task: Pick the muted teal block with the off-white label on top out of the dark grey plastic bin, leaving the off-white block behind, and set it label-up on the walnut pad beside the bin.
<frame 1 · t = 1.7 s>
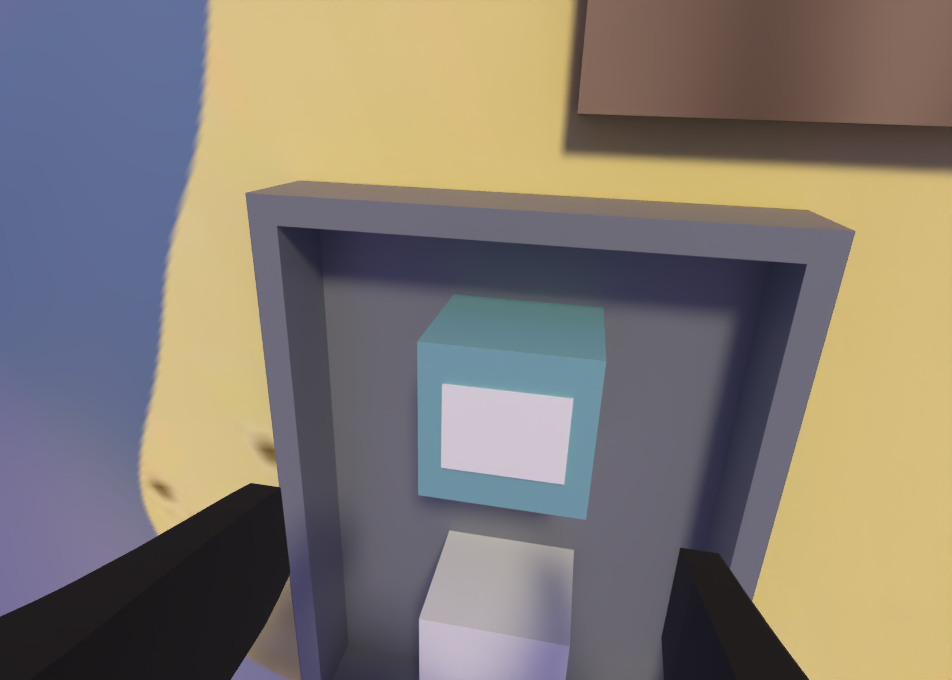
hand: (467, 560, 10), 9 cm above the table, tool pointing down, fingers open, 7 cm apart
labelled block: (522, 368, 18), resting on bin
bin: (515, 479, 20), on the table
plain block: (507, 588, 21), resting on bin
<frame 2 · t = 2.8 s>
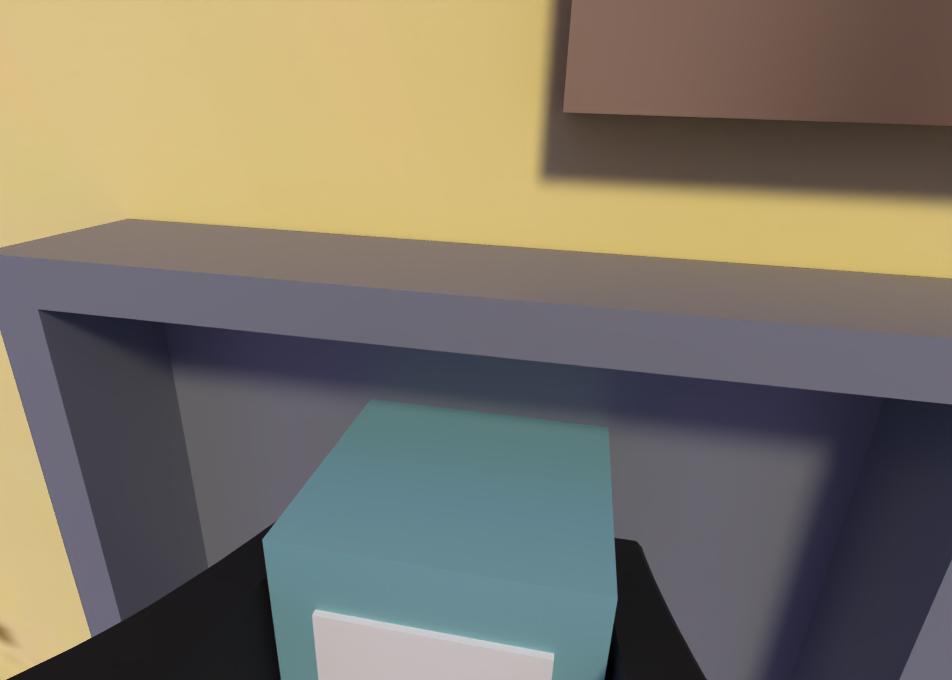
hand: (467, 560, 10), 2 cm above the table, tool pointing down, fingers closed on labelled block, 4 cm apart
labelled block: (481, 510, 12), resting on bin, touching gripper
bin: (478, 651, 14), on the table
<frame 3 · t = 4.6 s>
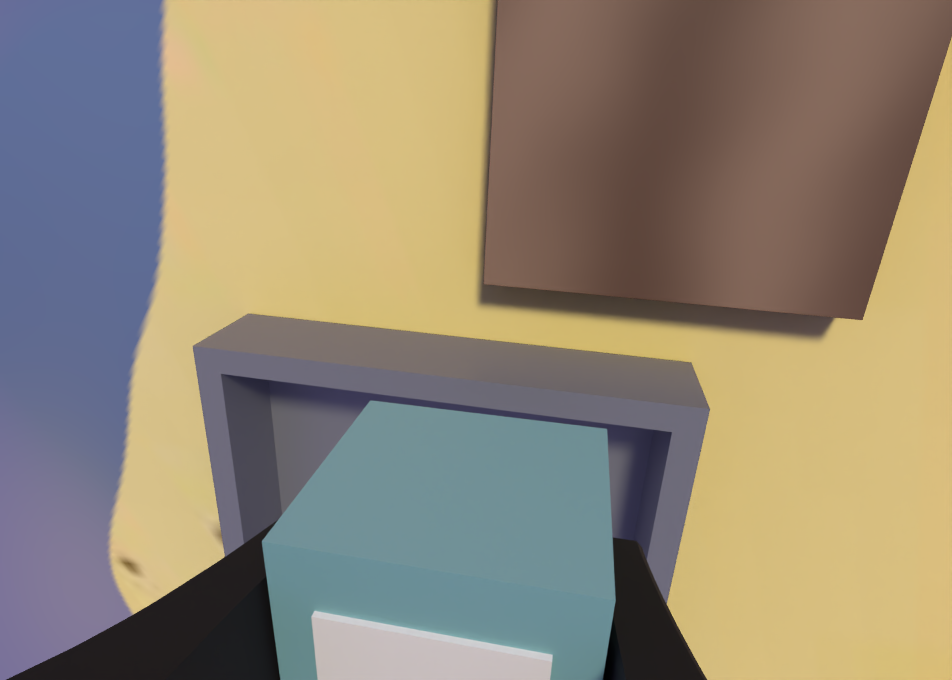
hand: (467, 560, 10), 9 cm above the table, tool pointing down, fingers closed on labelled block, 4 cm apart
labelled block: (480, 512, 12), point 7 cm above the table, touching gripper
pad: (690, 104, 15), on the table
bin: (448, 571, 22), on the table
when the fingers open (4 cm above the table, at t = 6.5 s): labelled block drops 1 cm, resting on pad.
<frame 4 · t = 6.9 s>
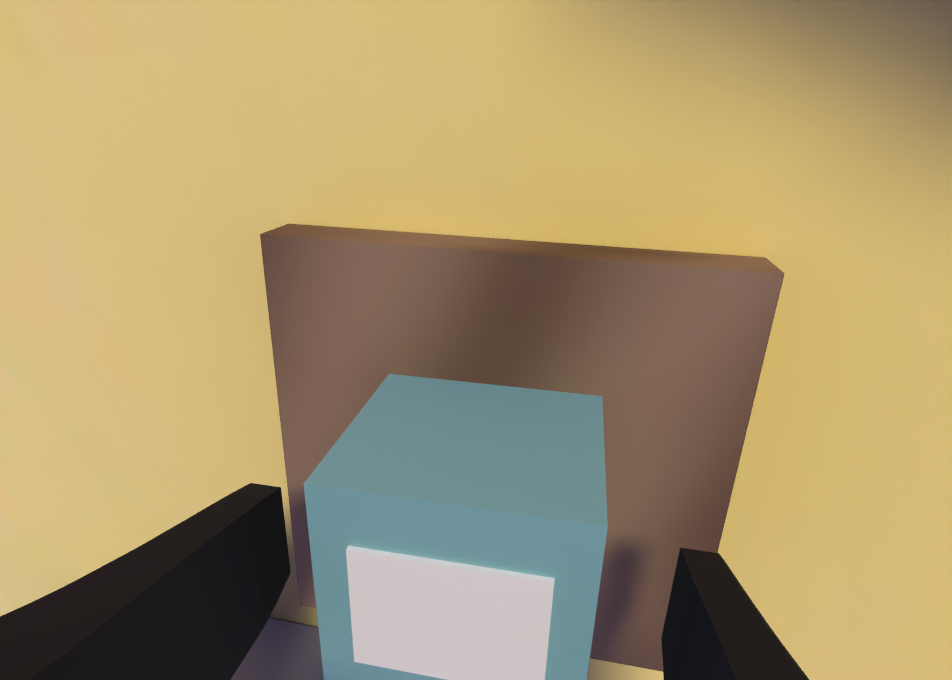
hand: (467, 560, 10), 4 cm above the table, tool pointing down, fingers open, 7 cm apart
labelled block: (488, 475, 13), point 1 cm above the table, touching pad
pad: (499, 445, 14), on the table
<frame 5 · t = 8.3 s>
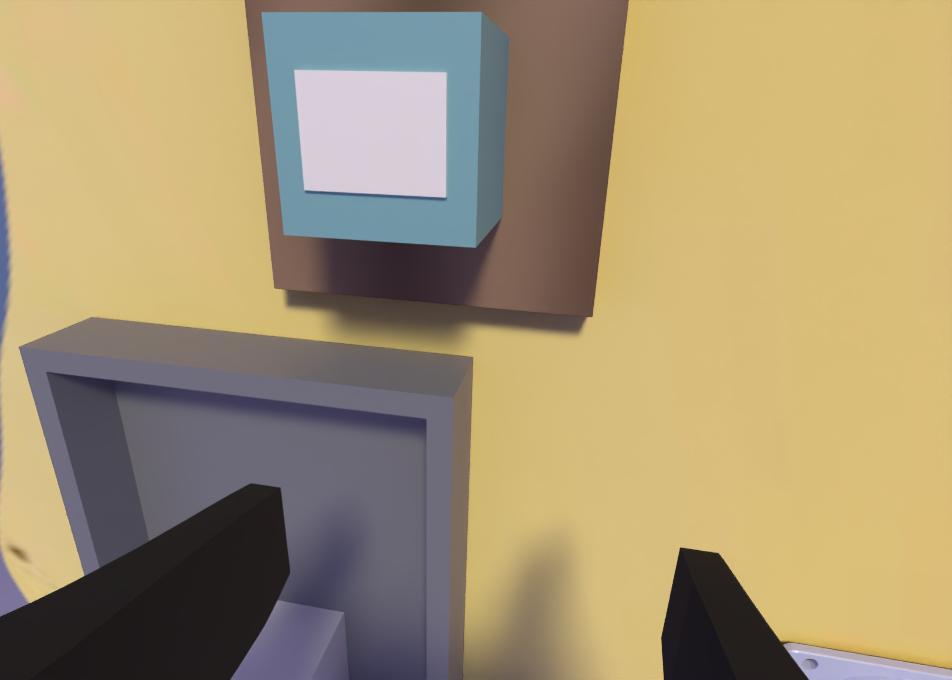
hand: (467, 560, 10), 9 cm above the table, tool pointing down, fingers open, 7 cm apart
labelled block: (423, 129, 16), point 1 cm above the table, touching pad
pad: (436, 126, 17), on the table
bin: (295, 553, 24), on the table
plain block: (298, 641, 25), resting on bin
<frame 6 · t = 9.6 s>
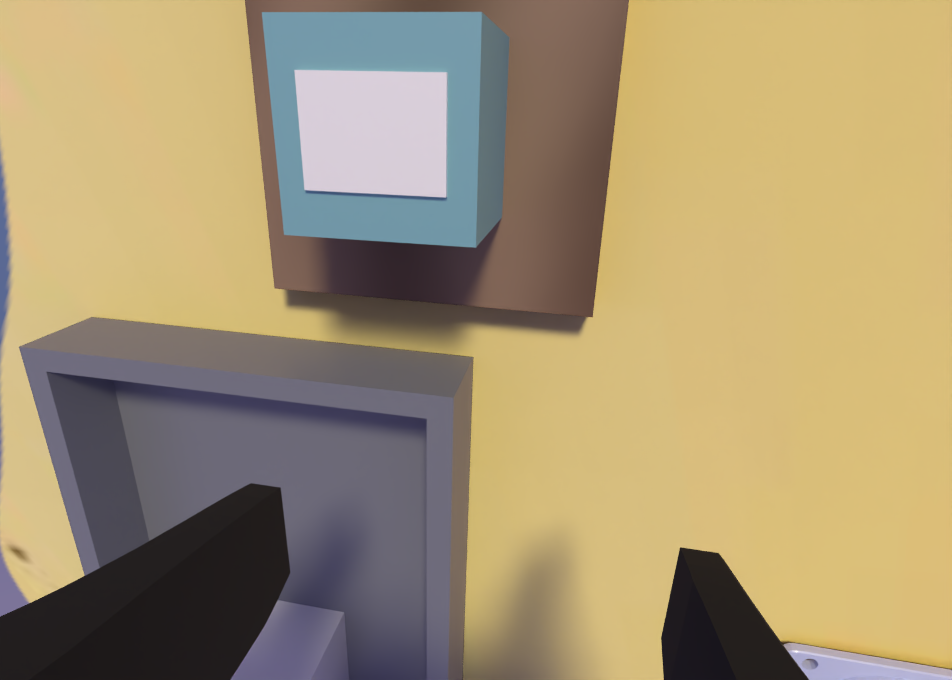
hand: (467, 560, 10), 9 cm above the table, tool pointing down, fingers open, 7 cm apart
labelled block: (424, 129, 16), point 1 cm above the table, touching pad
pad: (437, 126, 17), on the table
bin: (295, 553, 24), on the table
plain block: (298, 641, 25), resting on bin
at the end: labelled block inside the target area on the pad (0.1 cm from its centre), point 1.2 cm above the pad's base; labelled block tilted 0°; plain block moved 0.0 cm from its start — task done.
